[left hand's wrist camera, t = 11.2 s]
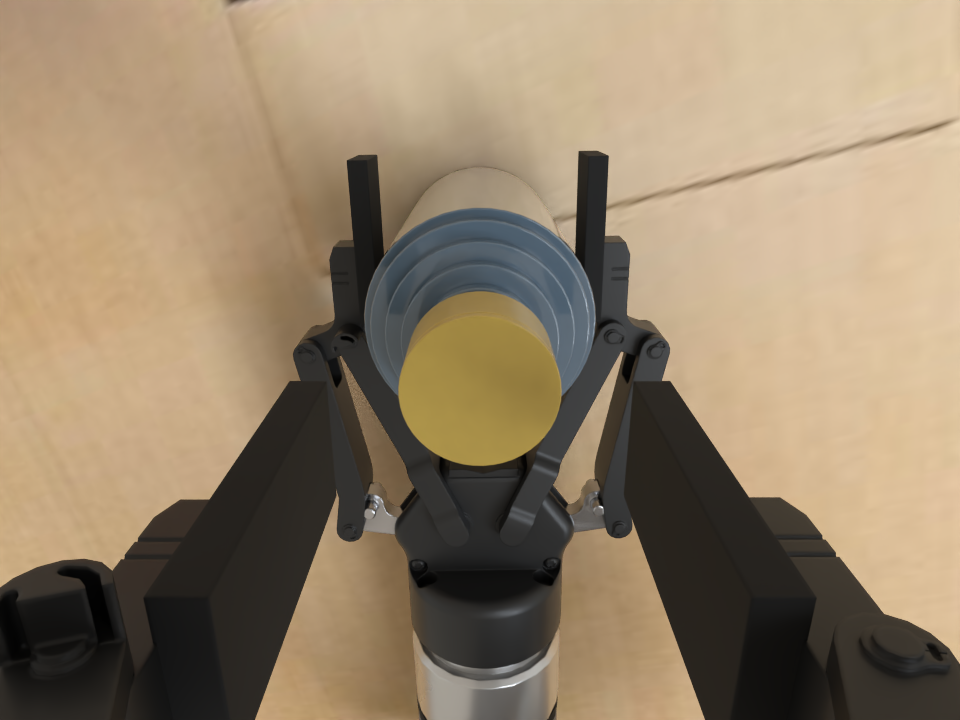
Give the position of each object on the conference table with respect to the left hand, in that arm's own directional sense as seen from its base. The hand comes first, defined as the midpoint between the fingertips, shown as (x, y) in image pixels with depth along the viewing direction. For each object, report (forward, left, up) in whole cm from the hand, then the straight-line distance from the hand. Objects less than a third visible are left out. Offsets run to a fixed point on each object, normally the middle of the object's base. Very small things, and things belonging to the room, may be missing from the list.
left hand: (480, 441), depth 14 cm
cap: (0, 0, -3) cm, 3 cm away
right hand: (-4, -2, -15) cm, 16 cm away
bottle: (0, 0, -21) cm, 21 cm away
